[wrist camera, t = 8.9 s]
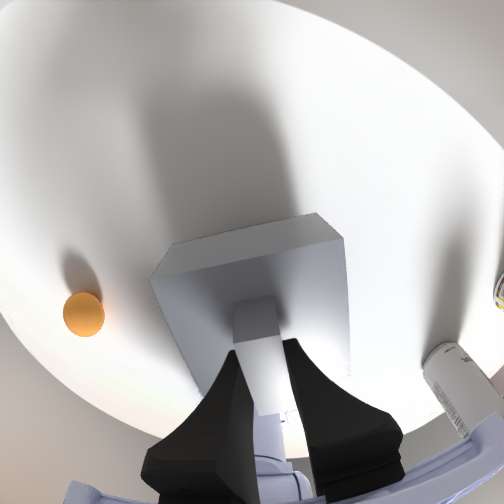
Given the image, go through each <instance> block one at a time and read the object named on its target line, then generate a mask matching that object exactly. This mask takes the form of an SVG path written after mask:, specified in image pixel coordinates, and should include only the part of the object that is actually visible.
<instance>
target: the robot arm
mask: <svg viewBox="0 0 504 504" xmlns="http://www.w3.org/2000/svg"><path fill="white" fill-rule="evenodd" d="M282 344H283V349H284V354H285V359H286V363H287V368H288V373H289V378H290V383H291V387H292V392H293V395H294V398H295V402H296V405H297V408H298V411H299V414H300V418H301V421H302V424H303V428H304V432H305V436H306V441H307V447H308V452H309V457H310V462H311V468H312V473H313V478H314V484H315V489H316V495H317V497H315V498H313V495H312V489H311V486H310V483H309V481H308V479H307V478H306V477H305V476H304V475H303V474H302V473H301V472H299V471H295V472H293V470H292V463H291V462H286V457H285V449H284V442H283V434H282V428H285V427H287V426H288V421H287V417H286V414H285V412H282V413H277V414H271V415H265V416H259V414H258V411H257V409H256V406H255V404H254V401H253V398H252V396H251V393H250V390H249V388H248V385H247V382H246V380H245V377H244V374H243V371H242V369H241V366H240V363H239V360H238V357H237V355H236V352H235V349H234V350H230V351H229V352H228V354H227V357H226V359H225V361H224V363H223V365H222V367H221V369H220V371H219V373H218V375H217V377H216V379H215V381H214V382H213V384H212V386H211V387H210V389H209V390H208V392H207V394H206V395H205V397H203V395H202V393H201V391H200V389H199V392H200V394H201V396H202V397H203V399H202V401H201V402H200V404H199V405H198V406H197V407H196V409H195V410H194V411H193V412H192V413H191V414H190V415H189V417H188V418H187V419H186V420H185V421H184V422H183V423H182V424H181V425H180V426H179V427H177V428H176V429H175V430H174V431H173V432H172V433H170V434H169V435H168V436H167V437H165V438H164V439H163V440H161V441H160V442H158V443H157V444H155V445H154V446H152V447H151V448H149V449H148V451H147V453H146V456H145V459H144V463H143V467H142V471H141V478H142V480H143V481H144V482H146V484H148V485H149V486H150V487H151V488H153V489H154V490H156V491H157V492H158V493H159V494H160V496H159V502H158V504H452V503H454V502H455V501H457V500H459V499H460V498H462V497H463V496H465V495H466V494H468V493H469V492H471V491H472V490H474V489H475V488H477V487H478V486H480V485H481V484H482V483H484V482H485V481H487V480H488V479H489V478H491V477H492V476H493V475H494V474H496V473H497V472H498V471H499V470H500V469H501V468H502V467H503V466H504V419H503V418H502V417H501V415H500V414H499V413H498V411H495V412H494V413H493V414H491V415H490V416H488V417H487V418H486V419H484V420H483V421H481V422H480V423H478V424H477V425H476V426H475V427H474V428H473V430H472V431H471V433H470V435H469V436H468V437H466V438H465V439H463V440H461V441H460V442H458V443H456V444H455V445H453V446H451V447H449V448H447V449H446V450H444V451H442V452H440V453H438V454H437V455H434V456H432V457H430V458H428V459H427V460H424V461H422V462H420V463H418V464H416V465H414V466H412V467H409V468H407V469H403V467H402V464H401V462H400V459H401V456H400V453H399V451H398V449H399V447H400V444H401V442H402V439H403V433H402V430H401V429H400V427H399V425H398V424H397V422H396V421H395V420H394V419H393V417H392V416H391V415H390V414H389V413H387V412H384V411H382V410H379V409H377V408H375V407H372V406H370V405H368V404H366V403H364V402H362V401H361V400H359V399H357V398H356V397H354V396H352V395H351V394H349V393H348V392H346V391H345V390H343V389H342V388H341V387H339V386H338V385H337V384H335V383H334V382H333V381H332V380H331V379H329V378H328V377H327V376H326V375H325V374H324V373H323V372H322V371H321V370H320V369H319V368H318V367H317V366H316V365H315V363H314V362H313V361H312V360H311V359H310V358H309V356H308V355H307V354H306V352H305V351H304V350H303V348H302V347H301V345H300V343H299V342H298V339H296V338H291V339H286V340H282ZM63 504H156V503H149V502H142V501H137V500H132V499H126V498H121V497H117V496H113V495H108V494H104V493H101V492H100V491H99V490H98V489H96V488H95V487H93V486H91V485H89V484H86V483H82V482H79V481H76V480H71V482H70V485H69V488H68V491H67V493H66V496H65V499H64V502H63Z"/></svg>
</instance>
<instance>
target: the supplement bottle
mask: <svg viewBox="0 0 504 504" xmlns="http://www.w3.org/2000/svg"><path fill="white" fill-rule="evenodd" d="M494 302H495V305H496V306H497V307H498V308H499V309H501V310H502V311H503V312H504V273H503V274H502V275H501V277H500V278H499V280H498V282H497V285H496V288H495V292H494Z"/></svg>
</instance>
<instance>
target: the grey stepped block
mask: <svg viewBox="0 0 504 504" xmlns="http://www.w3.org/2000/svg"><path fill="white" fill-rule="evenodd" d="M149 281H150V284H151V286H152V289H153V291H154V294H155V296H156V299H157V301H158V304H159V306H160V308H161V311H162V313H163V315H164V318H165V320H166V322H167V324H168V327H169V329H170V331H171V333H172V335H173V338H174V340H175V342H176V344H177V346H178V348H179V350H180V352H181V354H182V356H183V358H184V360H185V362H186V364H187V366H188V368H189V370H190V372H191V374H192V376H193V378H194V380H195V382H196V384H197V386H198V388H199V389H200V391H201V393H202V395H203V397H205V395H206V394H207V392H208V390H209V389H210V387H211V386H212V384H213V382H214V381H215V379H216V377H217V375H218V373H219V371H220V369H221V367H222V365H223V363H224V361H225V359H226V357H227V354H228V352H229V351H230V350H234V349H235V352H236V355H237V357H238V360H239V363H240V366H241V369H242V371H243V374H244V377H245V380H246V382H247V385H248V388H249V390H250V393H251V396H252V398H253V401H254V404H255V406H256V409H257V411H258V414H259V416H265V415H271V414H277V413H282V412H287V411H292V410H296V407H295V402H294V396H293V392H292V387H291V383H290V378H289V373H288V368H287V363H286V359H285V354H284V349H283V344H282V340H286V339H291V338H296V339H298V342H299V343H300V345H301V347H302V348H303V350H304V351H305V352H306V354H307V355H308V356H309V358H310V359H311V360H312V361H313V362H314V363H315V365H316V366H317V367H318V368H319V369H320V370H321V371H322V372H323V373H324V374H325V375H326V376H327V377H328V378H329V379H331V380H332V381H333V380H337V379H340V378H344V377H347V376H350V333H349V305H348V287H347V272H346V260H345V249H344V239H343V237H342V236H341V235H340V234H339V233H338V232H337V231H336V230H335V229H333V228H332V227H331V226H330V225H329V224H328V223H327V222H326V221H325V220H324V219H323V218H322V217H320V216H319V215H318V214H317V213H311V214H307V215H302V216H297V217H292V218H287V219H283V220H278V221H273V222H269V223H264V224H260V225H255V226H251V227H246V228H242V229H237V230H233V231H228V232H224V233H220V234H215V235H211V236H207V237H202V238H198V239H194V240H190V241H185V242H181V243H177V244H173V245H172V246H171V247H170V249H169V250H168V252H167V253H166V255H165V256H164V258H163V259H162V261H161V262H160V264H159V265H158V267H157V268H156V270H155V271H154V273H153V274H152V276H151V278H150V279H149Z"/></svg>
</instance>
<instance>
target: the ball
mask: <svg viewBox="0 0 504 504" xmlns="http://www.w3.org/2000/svg"><path fill="white" fill-rule="evenodd" d="M63 318H64V321H65V324H66V326H67V327H68V328H69V330H70V331H71V332H73V333H74V334H76V335H78V336H81V337H90V336H93V335H95V334H96V333H97V332H98V331H99V330H100V329H101V327H102V325H103V323H104V309H103V306H102V304H101V303H100V301H99V300H98V299H97V298H96V297H95V296H93V295H92V294H90V293H86V292H78V293H75V294H73V295H72V296H70V297H69V298H68V299H67V301H66V303H65V305H64V309H63Z"/></svg>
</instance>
